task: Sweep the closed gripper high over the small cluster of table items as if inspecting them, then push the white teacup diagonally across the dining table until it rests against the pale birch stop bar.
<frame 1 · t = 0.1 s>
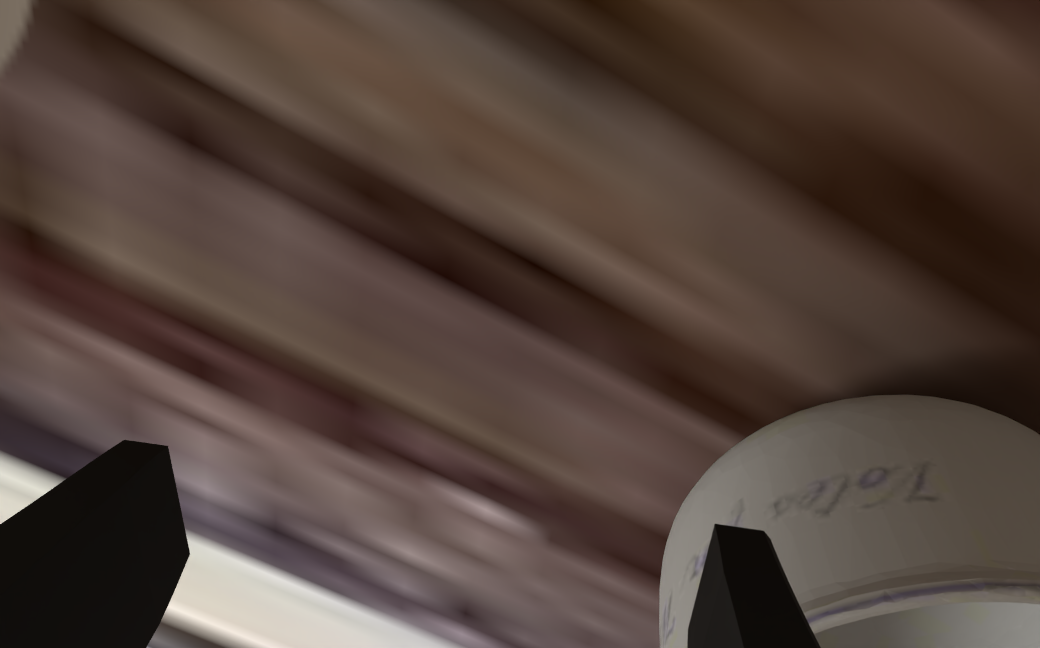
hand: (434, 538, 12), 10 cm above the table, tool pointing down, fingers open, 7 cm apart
teacup: (825, 531, 24), on the table
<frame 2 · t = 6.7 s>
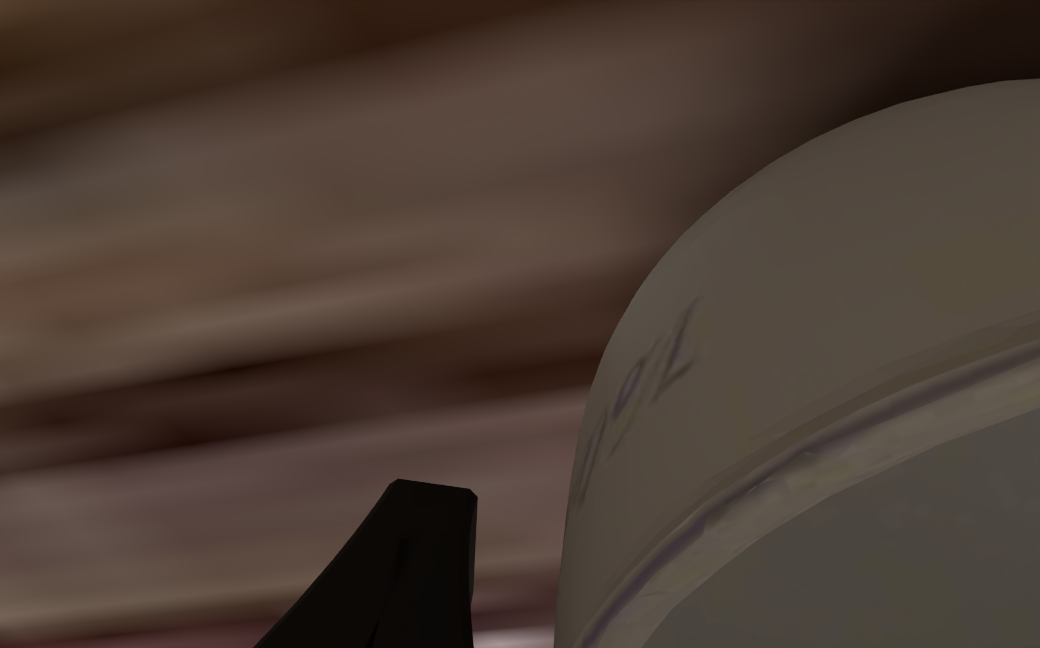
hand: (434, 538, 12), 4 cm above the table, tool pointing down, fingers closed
teacup: (940, 421, 15), on the table, touching gripper
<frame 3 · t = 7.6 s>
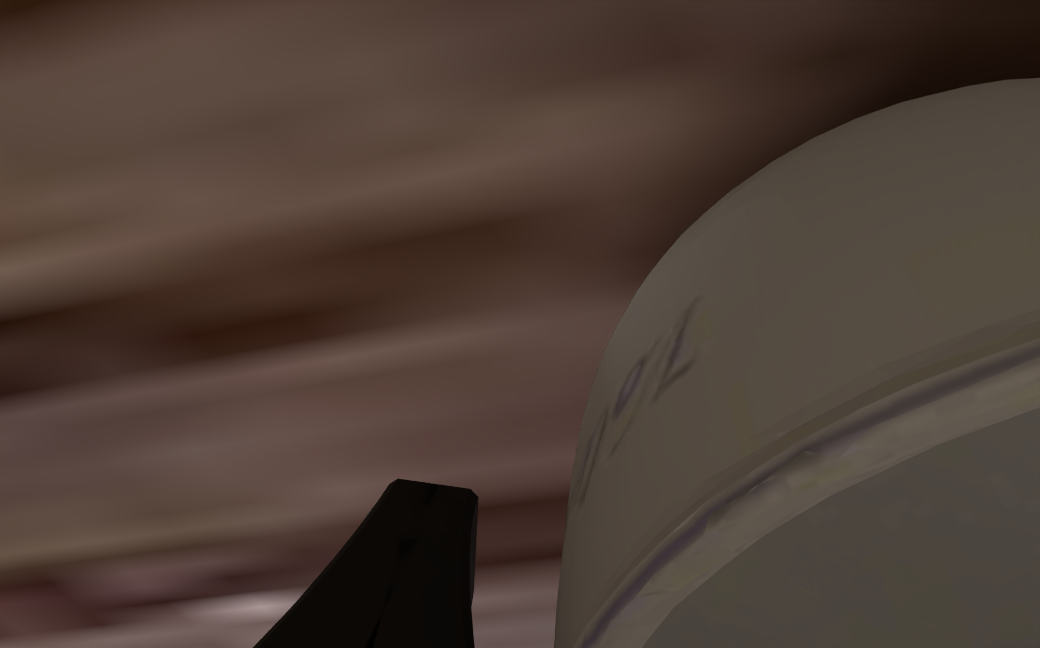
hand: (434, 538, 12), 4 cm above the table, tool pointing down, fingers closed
teacup: (940, 421, 15), on the table, touching gripper
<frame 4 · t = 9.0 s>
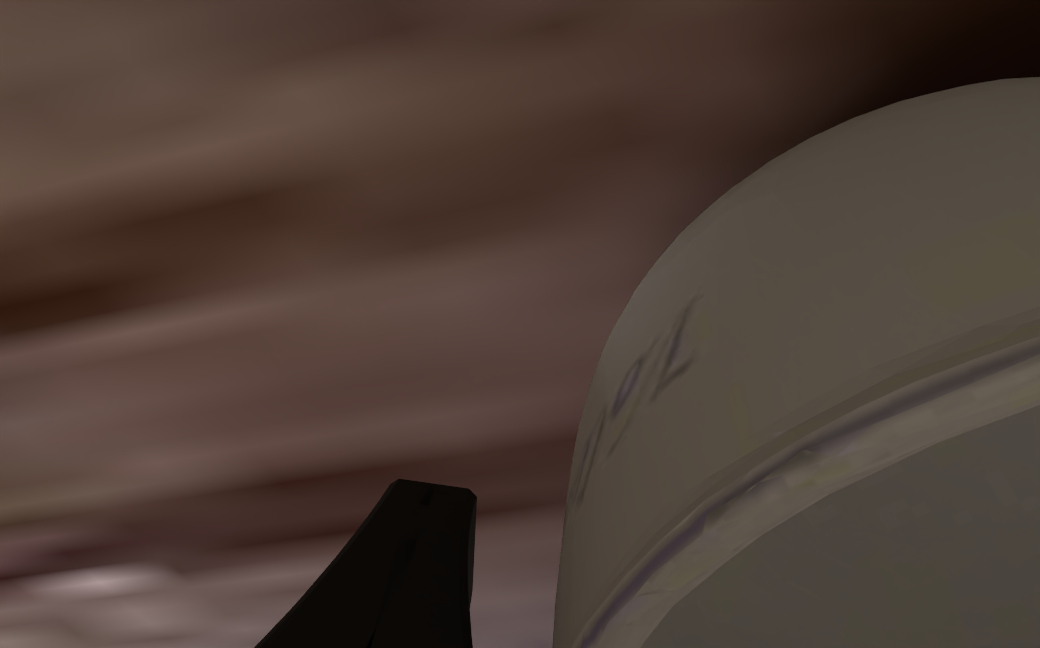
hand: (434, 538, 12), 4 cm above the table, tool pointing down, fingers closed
teacup: (938, 420, 15), on the table, touching gripper
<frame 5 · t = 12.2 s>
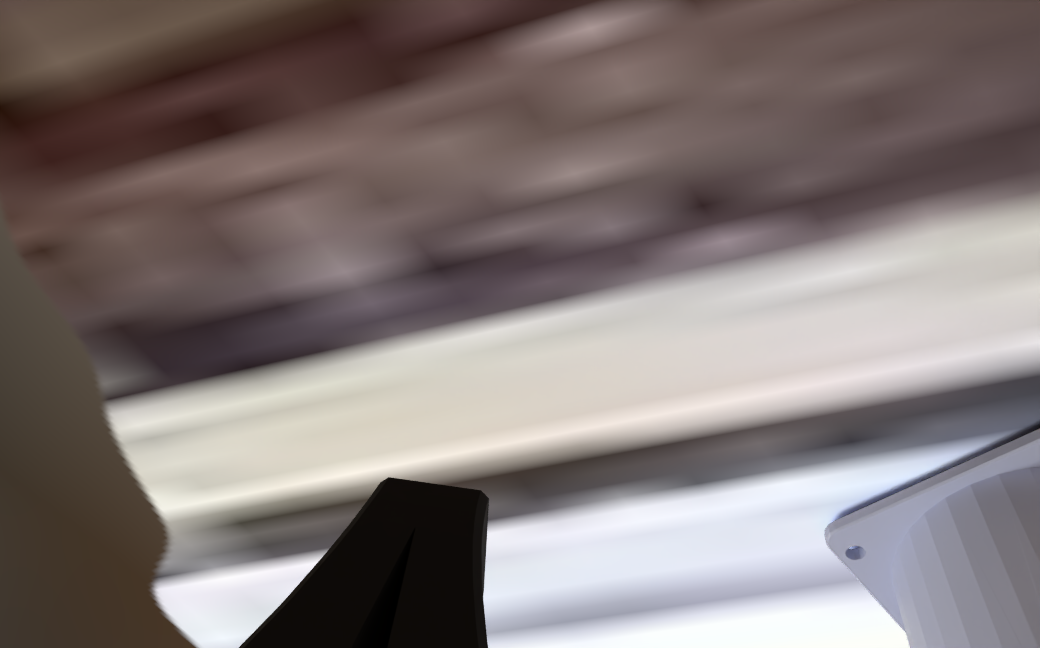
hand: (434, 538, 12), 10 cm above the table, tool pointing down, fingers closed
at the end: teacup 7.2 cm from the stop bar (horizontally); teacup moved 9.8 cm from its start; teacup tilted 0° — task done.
